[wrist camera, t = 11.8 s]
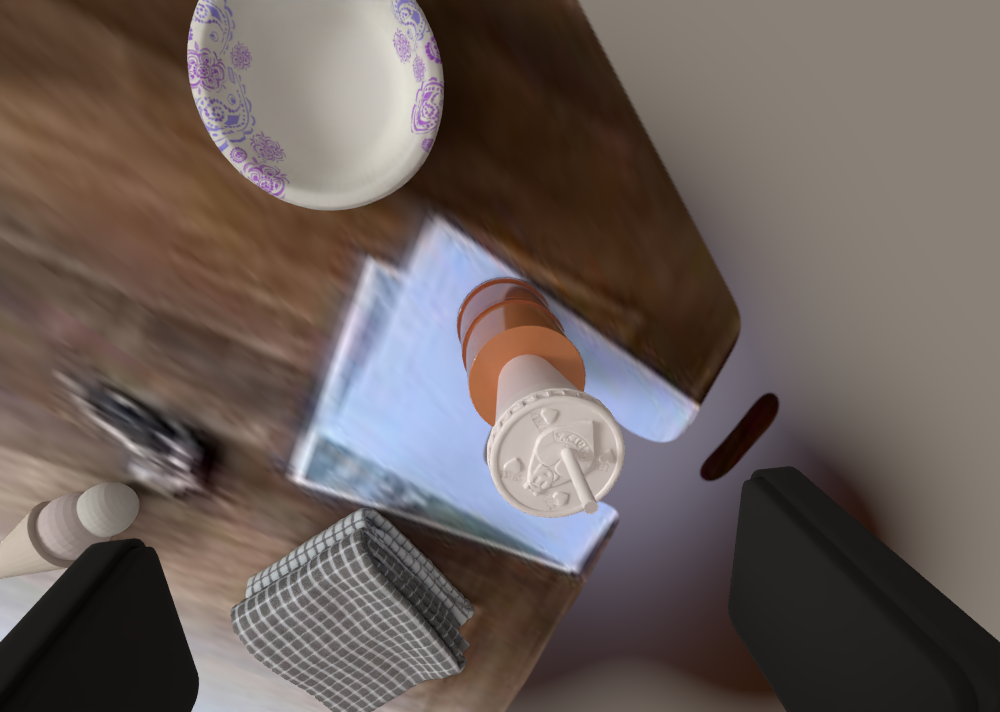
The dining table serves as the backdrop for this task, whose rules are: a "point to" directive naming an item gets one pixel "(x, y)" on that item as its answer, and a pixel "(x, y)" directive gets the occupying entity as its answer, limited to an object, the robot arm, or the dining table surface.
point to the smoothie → (551, 442)
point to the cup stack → (510, 338)
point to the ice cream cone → (67, 528)
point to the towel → (354, 615)
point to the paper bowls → (318, 94)
